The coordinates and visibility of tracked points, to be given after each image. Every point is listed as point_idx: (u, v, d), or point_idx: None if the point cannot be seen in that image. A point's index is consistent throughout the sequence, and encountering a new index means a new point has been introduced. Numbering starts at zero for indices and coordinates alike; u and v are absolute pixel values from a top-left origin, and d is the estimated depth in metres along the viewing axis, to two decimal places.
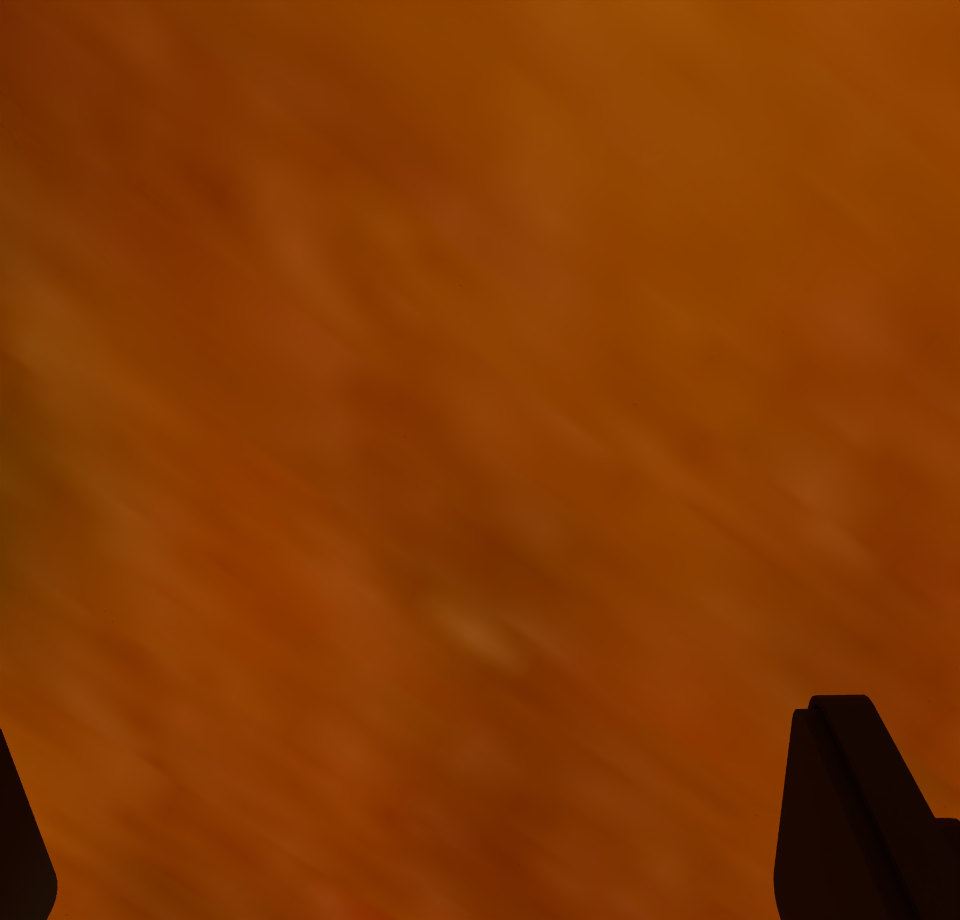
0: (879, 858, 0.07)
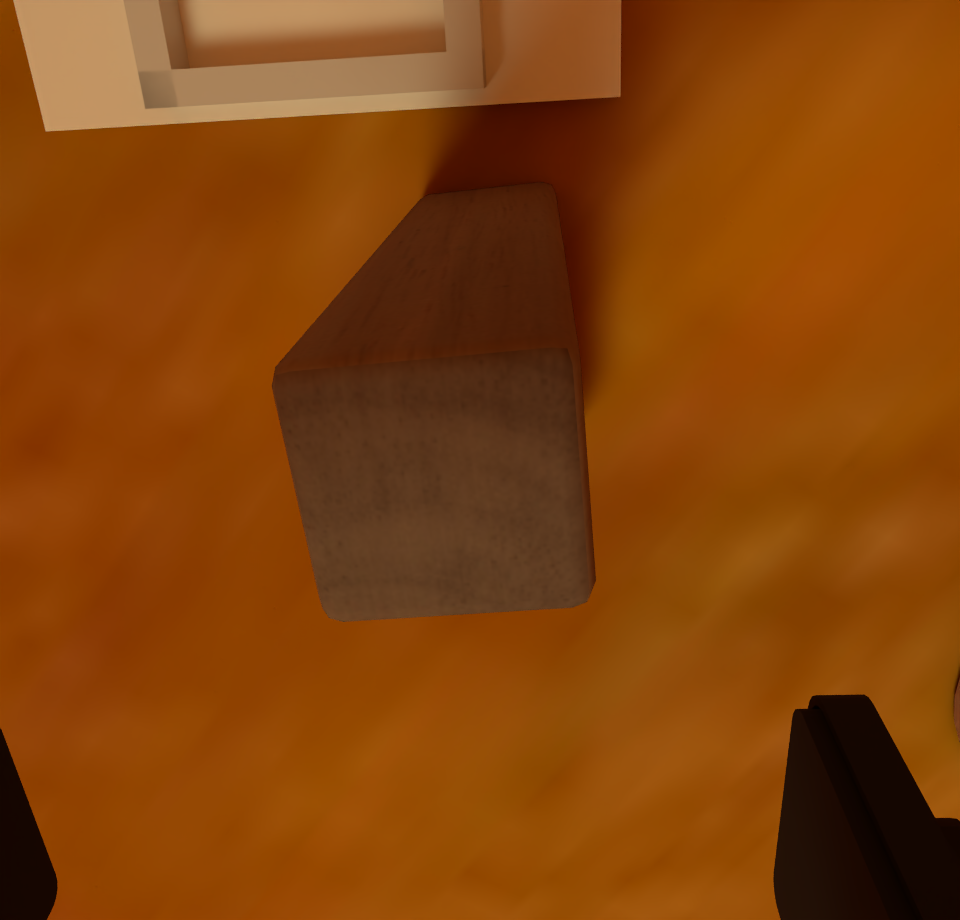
0: (879, 858, 0.07)
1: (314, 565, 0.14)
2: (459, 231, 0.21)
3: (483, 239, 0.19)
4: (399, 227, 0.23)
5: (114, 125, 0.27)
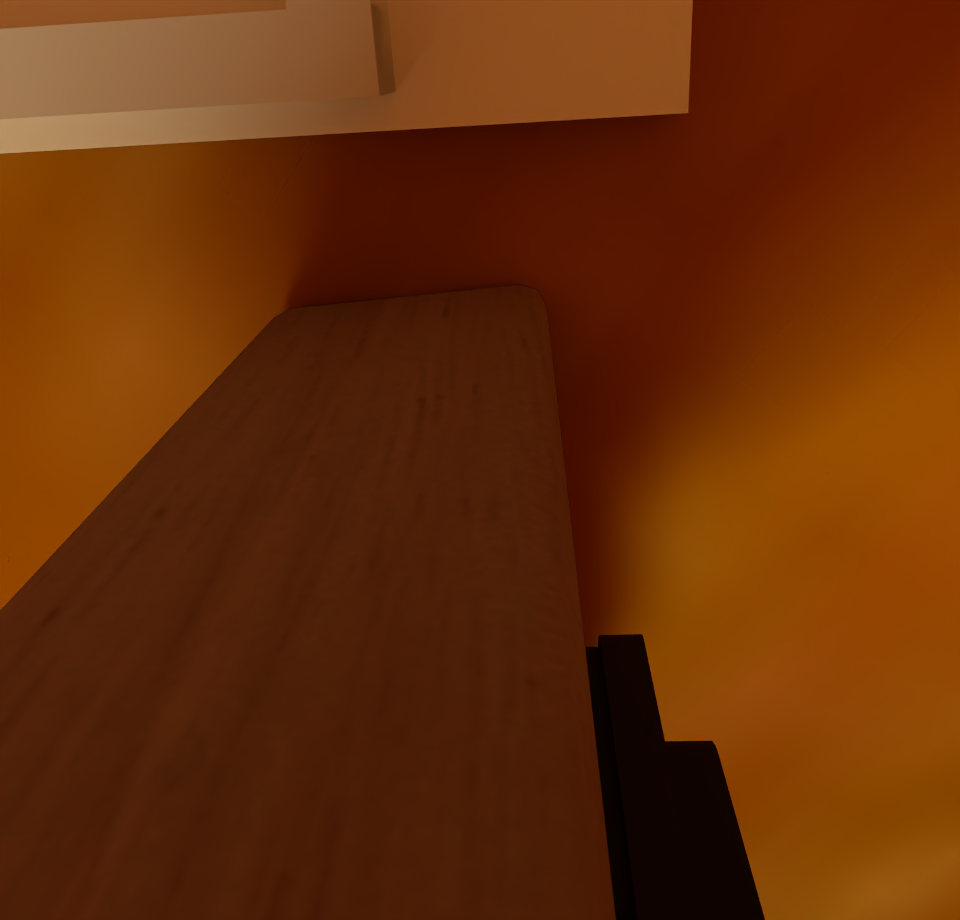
0: (608, 762, 0.09)
1: None
2: (256, 555, 0.07)
3: (296, 671, 0.05)
4: (140, 469, 0.09)
5: None
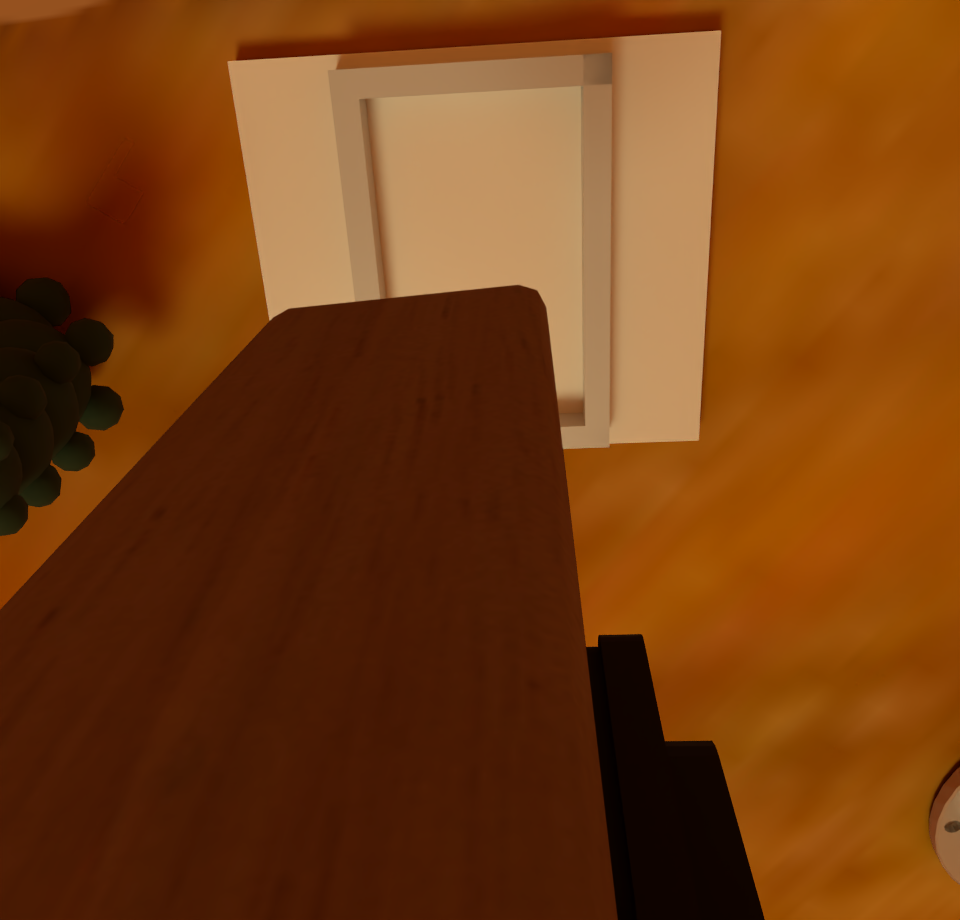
0: (607, 762, 0.09)
1: None
2: (256, 556, 0.07)
3: (296, 673, 0.05)
4: (139, 470, 0.09)
5: None
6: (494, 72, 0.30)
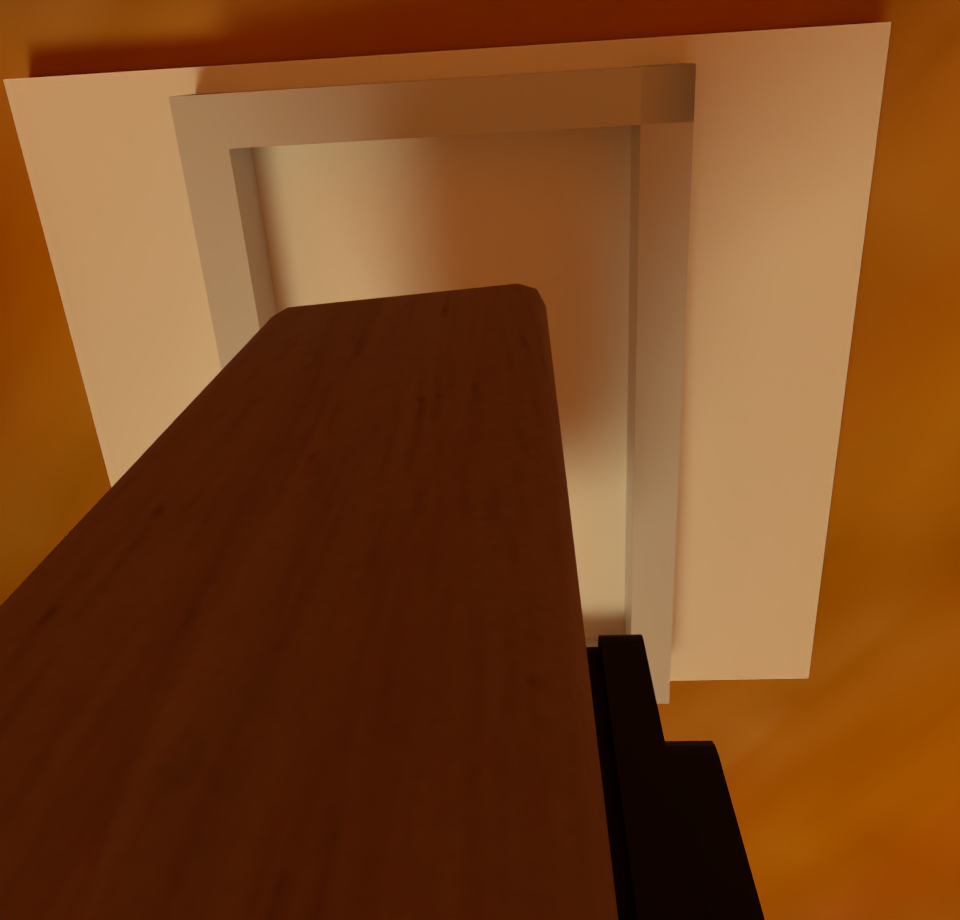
0: (607, 763, 0.09)
1: None
2: (255, 554, 0.07)
3: (295, 670, 0.05)
4: (138, 468, 0.09)
5: None
6: (475, 100, 0.16)
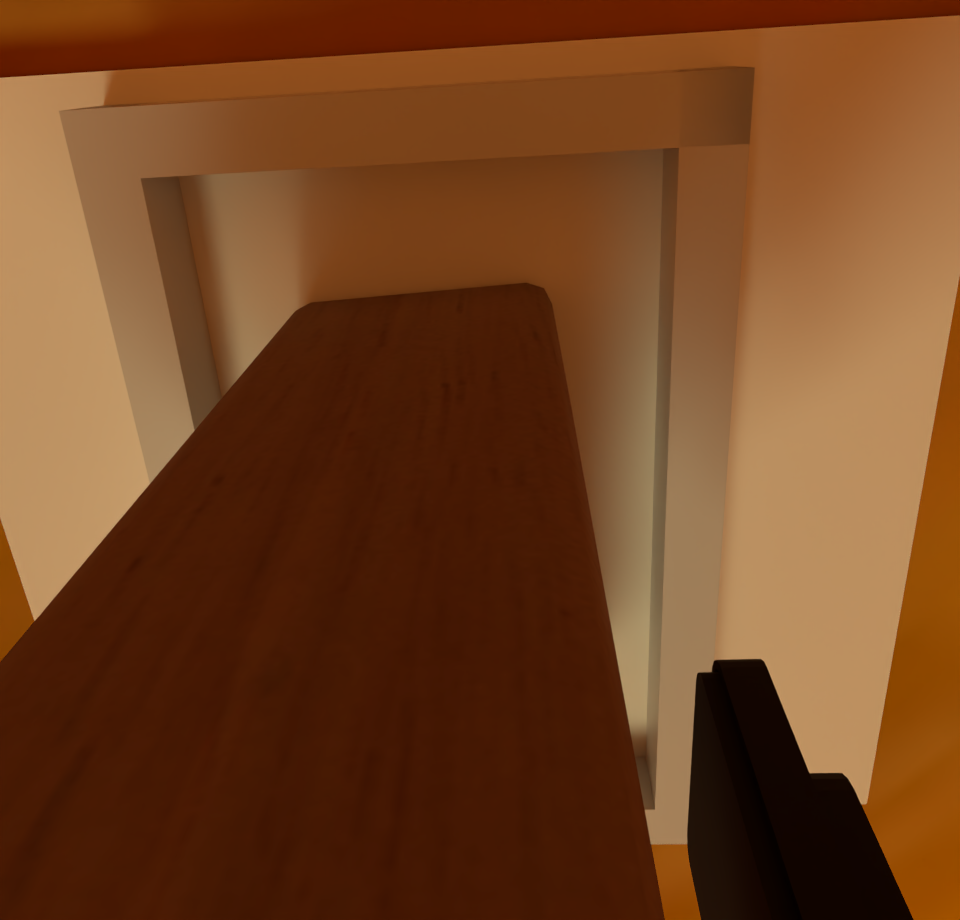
0: (751, 801, 0.08)
1: None
2: (312, 515, 0.08)
3: (361, 605, 0.06)
4: (192, 444, 0.10)
5: None
6: (461, 116, 0.12)
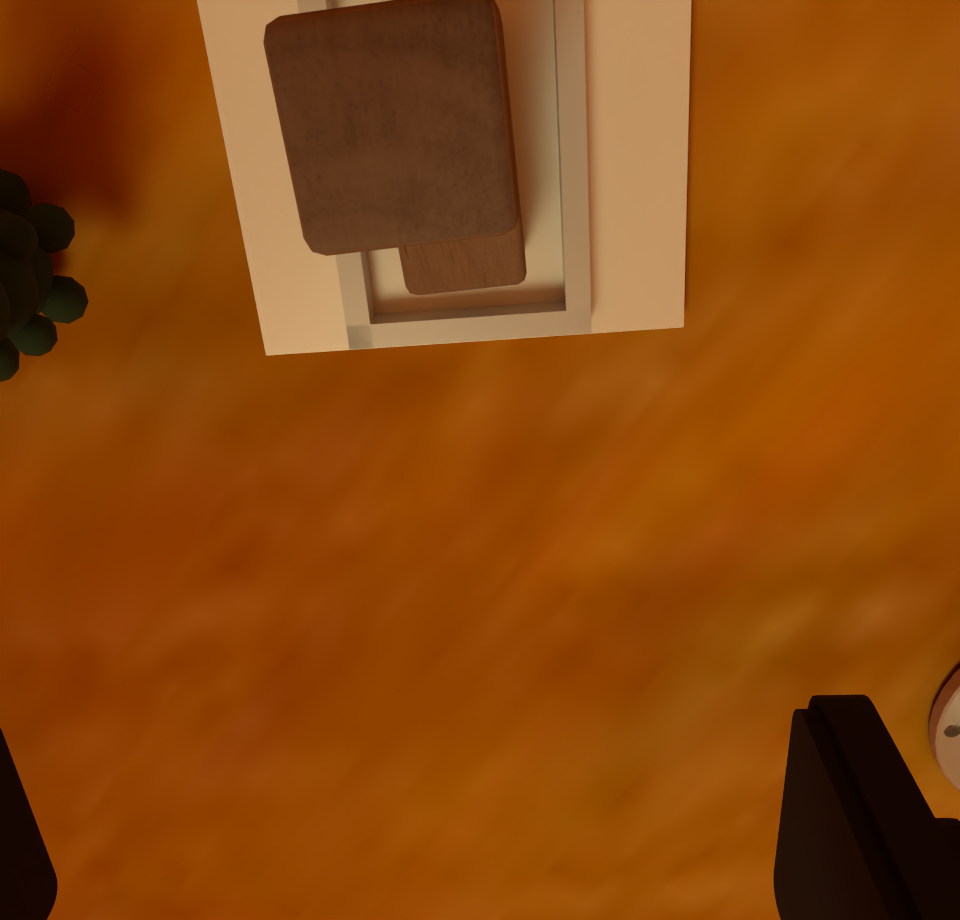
0: (879, 858, 0.07)
1: (299, 201, 0.17)
2: None
3: None
4: None
5: (316, 350, 0.38)
6: None
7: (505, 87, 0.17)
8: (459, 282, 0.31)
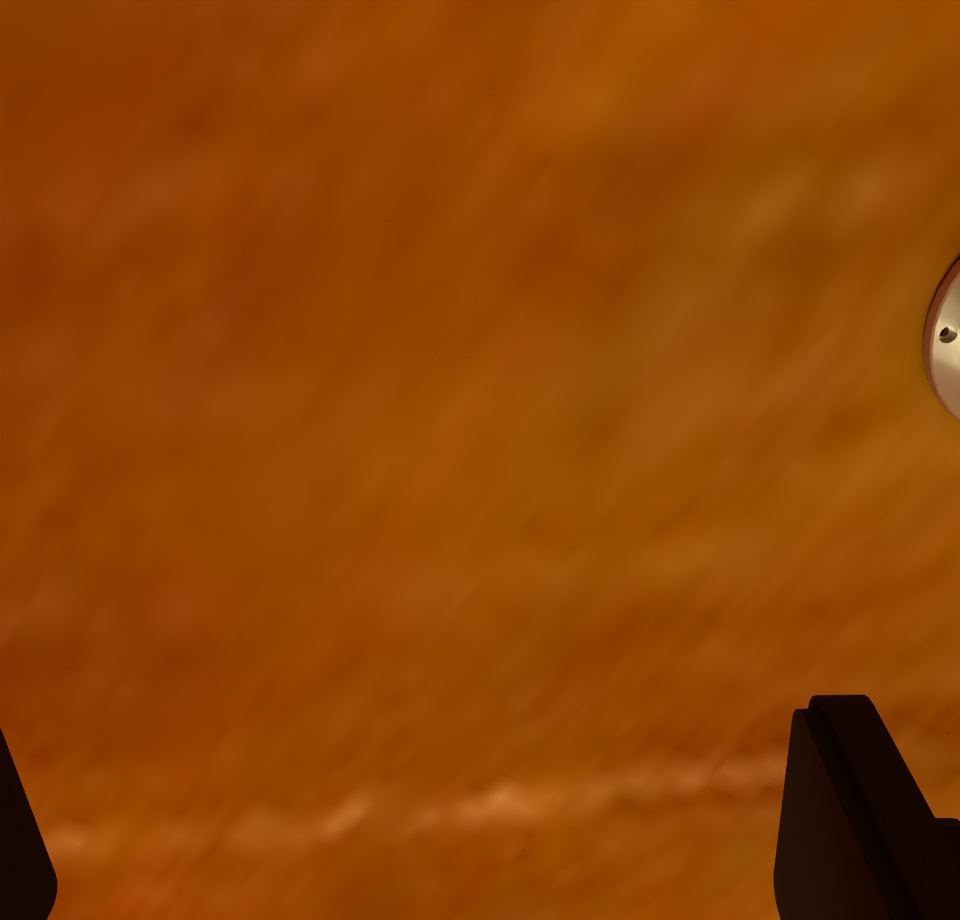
0: (879, 857, 0.07)
1: None
2: None
3: None
4: None
5: None
6: None
7: None
8: None
